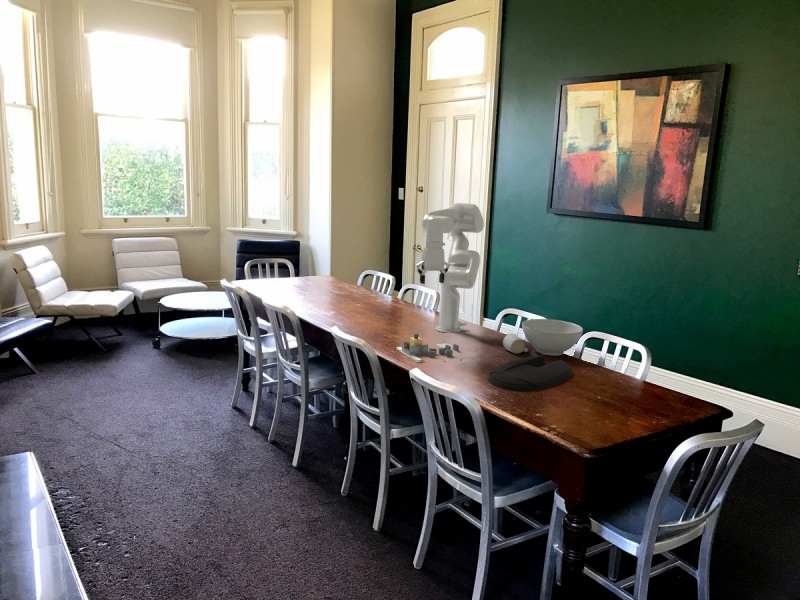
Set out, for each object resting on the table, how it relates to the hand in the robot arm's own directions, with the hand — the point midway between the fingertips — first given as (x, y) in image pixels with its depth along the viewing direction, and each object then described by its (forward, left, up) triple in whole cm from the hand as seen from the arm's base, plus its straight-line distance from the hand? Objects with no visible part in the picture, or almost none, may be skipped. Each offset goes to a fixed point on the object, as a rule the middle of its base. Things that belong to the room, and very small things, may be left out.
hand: (431, 283), depth 276 cm
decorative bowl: (-48, +27, -28) cm, 62 cm away
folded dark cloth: (-16, +53, -29) cm, 63 cm away
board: (+6, +14, -28) cm, 32 cm away
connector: (+13, +13, -27) cm, 33 cm away
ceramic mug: (-33, +23, -29) cm, 49 cm away
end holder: (+14, +13, -27) cm, 33 cm away
